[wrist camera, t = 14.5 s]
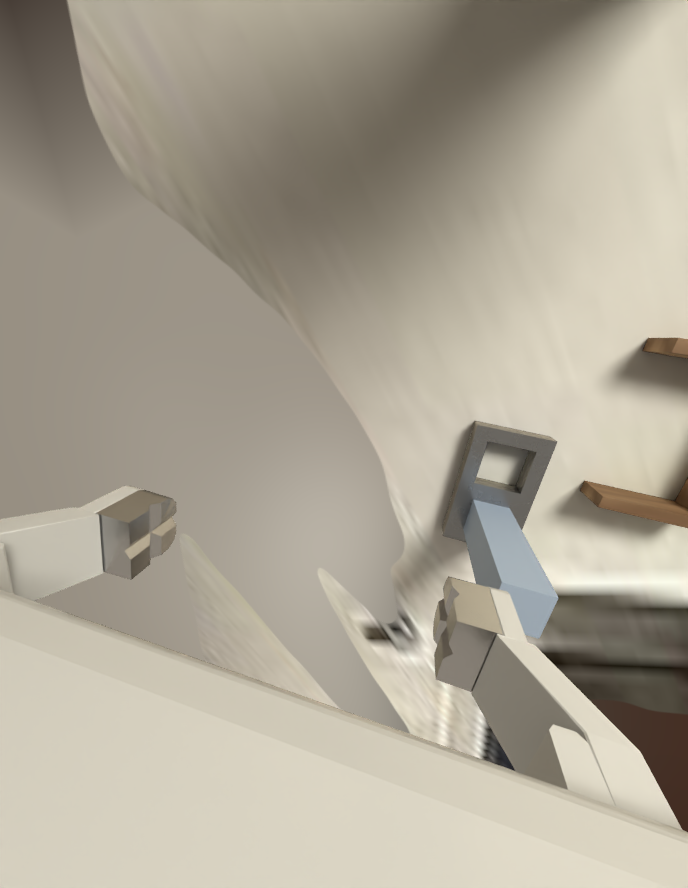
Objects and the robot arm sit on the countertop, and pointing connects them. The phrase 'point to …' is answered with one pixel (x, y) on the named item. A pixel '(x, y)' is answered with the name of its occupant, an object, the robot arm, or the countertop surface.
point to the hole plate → (496, 492)
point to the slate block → (509, 564)
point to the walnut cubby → (677, 512)
